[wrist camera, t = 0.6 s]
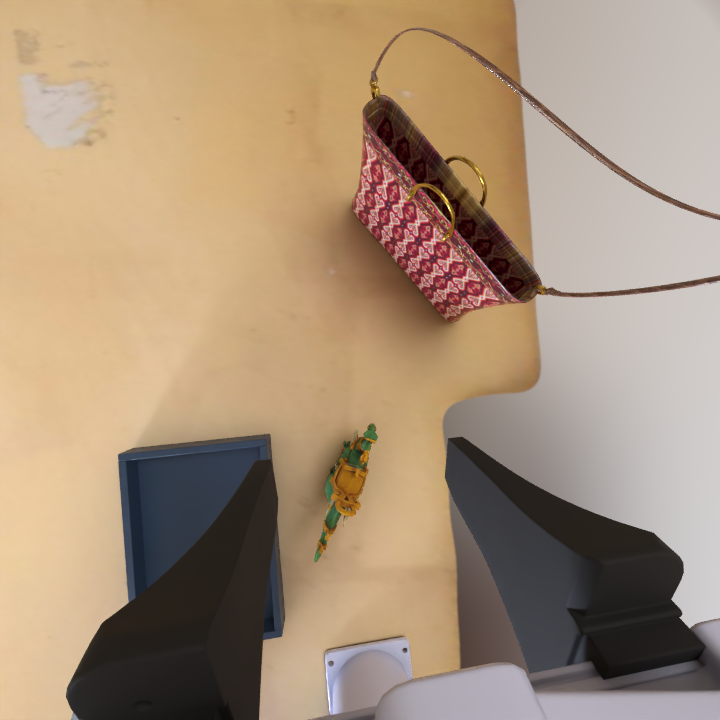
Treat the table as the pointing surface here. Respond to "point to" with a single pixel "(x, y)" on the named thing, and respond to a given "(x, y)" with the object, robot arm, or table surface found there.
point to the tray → (187, 508)
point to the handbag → (453, 212)
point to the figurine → (346, 483)
